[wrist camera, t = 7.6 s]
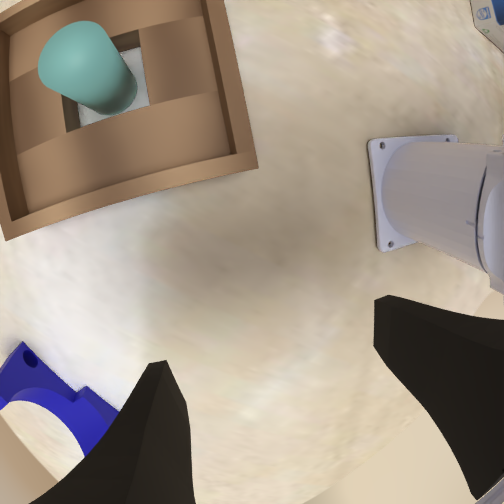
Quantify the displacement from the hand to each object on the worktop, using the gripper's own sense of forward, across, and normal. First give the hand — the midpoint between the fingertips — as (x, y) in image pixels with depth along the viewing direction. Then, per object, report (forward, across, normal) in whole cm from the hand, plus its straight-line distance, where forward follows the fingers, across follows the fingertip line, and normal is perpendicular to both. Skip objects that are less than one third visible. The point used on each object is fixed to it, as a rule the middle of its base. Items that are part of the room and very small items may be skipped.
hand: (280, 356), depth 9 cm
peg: (+10, +5, -12) cm, 16 cm away
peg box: (+10, +5, -12) cm, 16 cm away
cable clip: (+10, +16, +8) cm, 20 cm away
